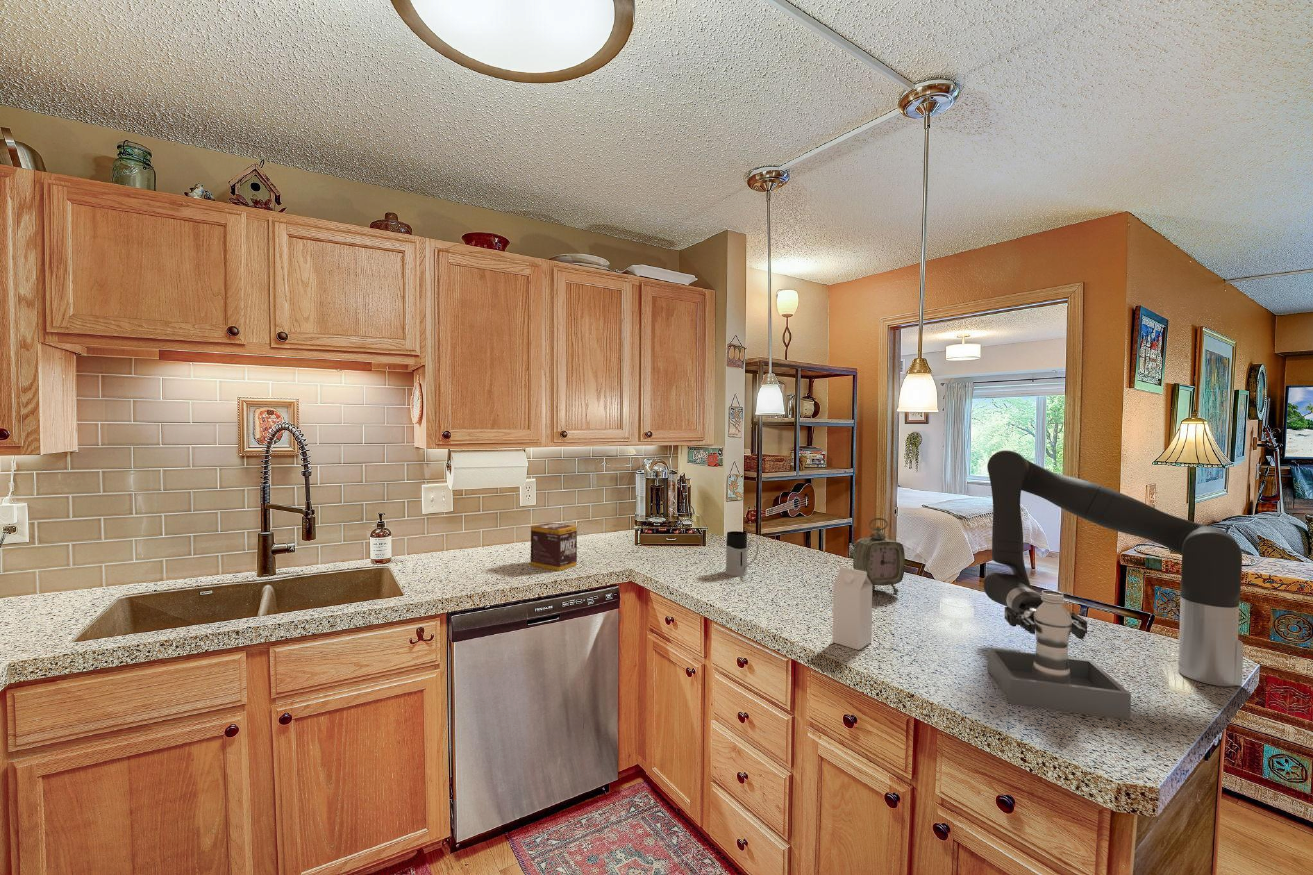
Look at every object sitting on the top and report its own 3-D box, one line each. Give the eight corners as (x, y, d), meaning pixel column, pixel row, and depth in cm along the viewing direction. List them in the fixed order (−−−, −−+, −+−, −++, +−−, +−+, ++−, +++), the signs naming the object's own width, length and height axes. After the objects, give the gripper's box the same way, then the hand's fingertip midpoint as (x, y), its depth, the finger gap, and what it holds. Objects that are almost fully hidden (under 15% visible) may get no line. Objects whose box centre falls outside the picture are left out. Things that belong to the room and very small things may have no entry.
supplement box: (559, 571, 207) (559, 530, 207) (530, 565, 216) (530, 525, 215) (577, 565, 216) (577, 526, 216) (548, 560, 224) (549, 521, 224)
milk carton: (845, 635, 146) (846, 564, 146) (871, 643, 141) (872, 569, 141) (832, 642, 141) (833, 568, 141) (858, 650, 136) (860, 574, 136)
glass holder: (734, 568, 214) (735, 529, 213) (765, 576, 203) (765, 535, 203) (720, 572, 208) (720, 532, 207) (750, 580, 197) (750, 538, 197)
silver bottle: (1033, 677, 121) (1034, 586, 120) (1072, 686, 116) (1073, 592, 116) (1030, 688, 116) (1031, 593, 115) (1070, 698, 111) (1071, 599, 111)
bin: (1091, 682, 120) (1092, 659, 120) (1130, 720, 105) (1130, 694, 105) (987, 669, 126) (988, 648, 126) (1010, 703, 111) (1010, 679, 111)
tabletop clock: (864, 597, 179) (866, 520, 179) (849, 588, 188) (850, 515, 188) (904, 594, 182) (905, 519, 182) (887, 586, 191) (888, 514, 191)
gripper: (995, 588, 131) (1018, 610, 116) (1065, 594, 127) (1099, 617, 112) (994, 619, 131) (1017, 645, 116) (1064, 626, 127) (1098, 654, 112)
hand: (1057, 631), depth 114 cm, fingers open, 8 cm apart
